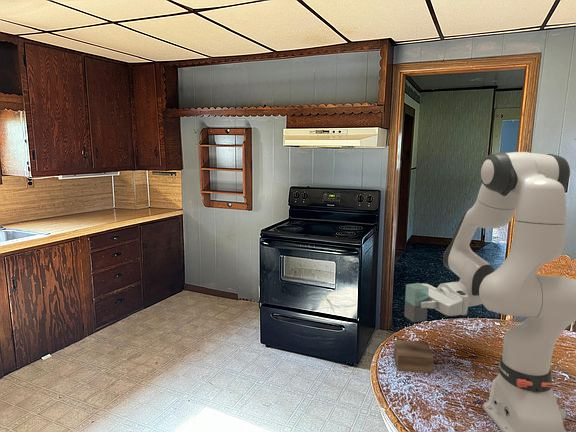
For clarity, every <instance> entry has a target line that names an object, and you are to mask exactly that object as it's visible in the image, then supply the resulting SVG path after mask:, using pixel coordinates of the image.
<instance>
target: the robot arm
mask: <svg viewBox="0 0 576 432" xmlns="http://www.w3.org/2000/svg"><path fill="white" fill-rule="evenodd" d="M479 171H480V172H479V177H480V181H481V185H480V188H479V191H478V194H477V198H476V201H475V203H474V204H473V205H471V206H469V207H468V208H467V209H466V210H465V211H464V212H463V215H462V216H461V218H460V221H459V223H458V224H457V228H456V229H455V232H454V234H453V237H452V239H451V241H450V244H449V245H448V247H447V248H446V250H445V251H444V252H443V257H442V262H443V263H442V264H443V266H444V267H445V268H446V269H448V270H449V271H451V272H452V273H454V274H455V275H456V276H457V277H459V280H458V281H451V282H443V283H442V282H441V283H440V284H439V285H438V286H437V287H435V286H433V285H431V284H429V283H421V284H422V285H424V286H426V287H428V288H429V292H428V301H426V302H425V301H420V302H419V306H420V307H422V308H427V309H431V310H432V309H434V310H436V312H437V311H438V312H439V313H441V314H443V315H444V316H448V317H453V316H460V315H462V316H465V315H468V308H469V307H475V306H479V305H483V306H484V307H485V309H486V310H487V311H489V312H494V313H496V314H500V315H505V316H513V317H514V316H515V317H527V318H526V319H525V320H524V321H521V322H520V323H517V324H515V325H514V326H511V327H509V328H508V330H507V331H506V332H505V334H504V338H503V346H502V347H503V348H502V356H501V357H500V359H499V363H498V374H497V376H496V377H495V378H494V379H493V380H492V382H491V386H490V387H491V388H490V393H489V398H488V401H486V402H484V403H483V404H482V405H483V406H482V409H483V411H485V413H486V414H487V415H488V416H489V417H490V419H491V420H492V421H493V422H494V423H495V425H496V426H497V427H498V429H500V430H501V432H567V430H566V428H565V425H564V420H565V419H566V418H567V412H566V410H565V409H564V408H560V407H559V404H558V400H559V398H558V396H557V395H555V393H554V391H553V375H552V370H551V369H552V368H551V363H552V358H553V357H552V356H553V352H554V348H555V345H556V342H557V340H558V339H559V337H560V336H561V334H562V333H563V332H564V331H565V330H566V329H567V328H568V327H570V325H572V324H573V323H574V322H576V278H575V279H574V278H570V277H567V276H566V277H565V276H562V275H551V274H550V275H548V274H537V273H538V271H539V270H540V269H541V268H542V267H543V266H544V265H546V264H548V263H551V262H553V261H556V260H557V259H559V258H560V257H561V255H562V254H563V251H564V247H565V246H564V245H565V238H566V237H565V235H566V225H567V200H566V199H567V198H566V197H567V196H566V191H565V186H566V185H567V184H568V181H569V179H570V178H571V177H570V176H571V169H570V165H569V163H568V161H567V159H565V157H562V156H560V155H557V154H554V153H547V154H545V153H536V152H534V153H533V152H528V151H513V152H503V151H501V152H495V153H491V154H488V155H487V156H486V157H485V158H484V160H483V161H482V163H481V166H480V170H479ZM513 218H514V228H513V236H512V240H511V246H510V251H509V253H508V255H507V257H506V258H505V259H504V261H503V263H501V265H500V266H499V267H497V268H496V269H495V268H494V266H493V265H491V264H490V262H488V261H487V260H485V259H484V258H482V257H480V256H479V255H478V254H477V253H476V252H475V251H473V250H472V248H471V247H470V246H471V245H470V244H471V242H472V240H473V237H474V235H475V234H476V231H477V229H478V228H481V229H499V228H502V227H505V226H506V225H508V224H509V223H511V221H512V219H513Z"/></svg>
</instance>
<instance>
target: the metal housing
mask: <svg viewBox="0 0 576 432" xmlns="http://www.w3.org/2000/svg"><path fill="white" fill-rule="evenodd" d="M422 284H423V283H420V282H415V283H408V284H405V295H404V296H405V299H404V313H403V314H404V315H403V316H404V317H405V318H406V319H408V320H409V321H411V322H412V323H418V322H423V321H424V322H425V321H427V318H428V308H422V307H420V306H419V302H420V301H425V302H426V301H428V292H429V288H428V287H426V286H424V285H422Z"/></svg>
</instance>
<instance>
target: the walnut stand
mask: <svg viewBox="0 0 576 432" xmlns="http://www.w3.org/2000/svg"><path fill="white" fill-rule="evenodd" d="M393 356H394V361H395V365H396V366H395V367H396V371H401V372H402V371H403V372H415V373H429V374H434V363H435V358H434V355H433V353H432V350H431V348H430V346H429V344H428V341H416V340H415V341H414V340H404V339H403V340H402V339H401V340H399V339H394V340H393Z"/></svg>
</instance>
